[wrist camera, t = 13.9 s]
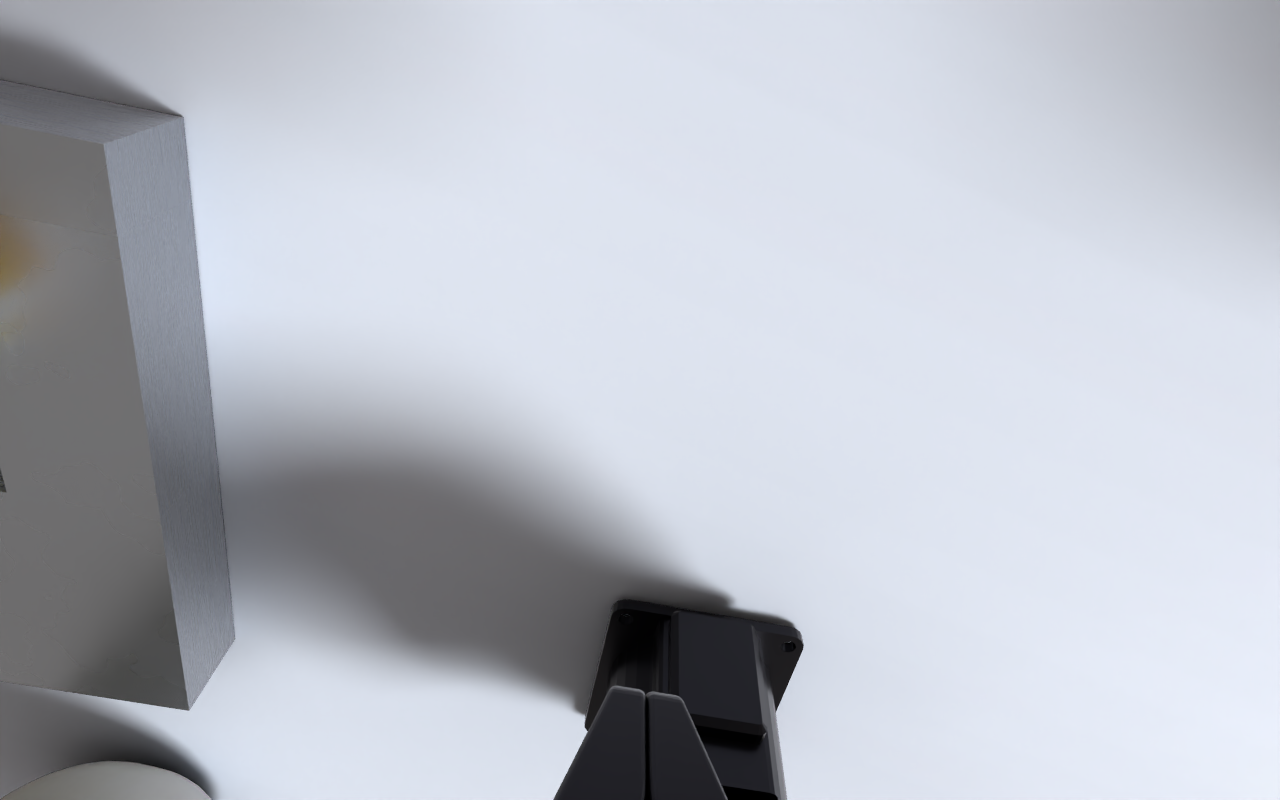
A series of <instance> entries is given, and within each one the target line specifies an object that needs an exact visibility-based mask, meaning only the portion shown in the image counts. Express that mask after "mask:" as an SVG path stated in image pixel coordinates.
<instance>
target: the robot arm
mask: <svg viewBox="0 0 1280 800" xmlns="http://www.w3.org/2000/svg"><path fill="white" fill-rule="evenodd" d="M622 614H629V615H630V616H624V615H622ZM789 641H791V642H790V643H784V642H789ZM802 650H803V640H802V635H801V633H800V632H799V631H798V630H797V629H795V628H792V627H787V626H781V625H775V624H769V623H763V622H757V621H752V620H746V619H740V618H734V617H728V616H722V615H716V614H711V613H705V612H699V611H693V610H687V609H681V608H676V607H670V606H664V605H658V604H652V603H646V602H641V601H635V600H626V599H623V600H620V601H617V602H616V603H614V605H613V606H612V609H611V613H610V617H609V621H608V625H607V629H606V633H605V638H604V642H603V646H602V650H601V654H600V658H599V662H598V666H597V670H596V675H595V679H594V683H593V687H592V691H591V695H590V699H589V703H588V707H587V712H586V717H585V728H586V730H587V731H588V732H587V734H586V736H585V738H584V740H583V742H582V744H581V746H580V748H579V750H578V752H577V754H576V756H575V758H574V760H573V762H572V764H571V766H570V768H569V770H568V772H567V774H566V776H565V778H564V780H563V782H562V784H561V786H560V788H559V790H558V792H557V793H556V795H555V797H554V799H553V800H787V795H786V787H785V780H784V772H783V765H782V757H781V749H780V742H779V734H778V727H777V719H776V711H777V708H778V706H779V704H780V701H781V699H782V697H783V694H784V692H785V690H786V687H787V685H788V683H789V680H790V678H791V676H792V673H793V671H794V669H795V667H796V664H797V662H798V660H799V657H800V655H801V653H802Z"/></svg>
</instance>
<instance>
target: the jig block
mask: <svg viewBox="0 0 1280 800" xmlns="http://www.w3.org/2000/svg"><path fill="white" fill-rule="evenodd" d="M234 640H235V635H234V624H233V614H232V604H231V594H230V584H229V574H228V564H227V554H226V544H225V533H224V523H223V513H222V503H221V493H220V483H219V473H218V463H217V453H216V443H215V432H214V422H213V412H212V402H211V392H210V382H209V372H208V362H207V352H206V342H205V331H204V321H203V311H202V301H201V291H200V281H199V271H198V261H197V251H196V240H195V230H194V220H193V210H192V200H191V190H190V180H189V170H188V160H187V150H186V139H185V129H184V119H183V117H181V116H176V115H171V114H166V113H161V112H156V111H151V110H146V109H141V108H136V107H132V106H127V105H122V104H117V103H112V102H107V101H102V100H97V99H92V98H87V97H82V96H78V95H73V94H68V93H63V92H58V91H53V90H48V89H43V88H38V87H33V86H29V85H24V84H19V83H14V82H9V81H4V80H0V681H2V682H8V683H15V684H21V685H28V686H34V687H41V688H47V689H53V690H60V691H66V692H73V693H79V694H85V695H92V696H98V697H105V698H111V699H117V700H124V701H130V702H137V703H143V704H149V705H156V706H162V707H169V708H175V709H181V710H188V711H189V710H190V709H191V707H192V706H193V704H194V703H195V701H196V699H197V698H198V696H199V695H200V693H201V692H202V690H203V688H204V687H205V685H206V684H207V682H208V681H209V679H210V677H211V676H212V674H213V673H214V671H215V670H216V668H217V666H218V665H219V663H220V662H221V660H222V659H223V657H224V655H225V654H226V652H227V651H228V649H229V648H230V646H231V644H232V643H233V641H234Z"/></svg>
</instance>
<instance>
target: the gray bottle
mask: <svg viewBox="0 0 1280 800" xmlns="http://www.w3.org/2000/svg"><path fill="white" fill-rule="evenodd" d="M0 800H212V799H211V798H210V797H209V796H208V795H207V794H206V793H205V792H204V791H203V790H202V789H201V788H200V787H199V786H198V785H196V784H195V783H193V782H192V781H190V780H189V779H187V778H185V777H183V776H181V775H179V774H177V773H175V772H172V771H169V770H165V769H162V768H158V767H154V766H150V765H145V764H141V763H135V762H123V761H99V762H92V763H87V764H81V765H76V766H72V767H69V768H65V769H62V770H59V771H56V772H53V773H50V774H48V775H45V776H43V777H40V778H38V779H36V780H34V781H32V782H30V783H28V784H26V785H24V786H22V787H20V788H18V789H16V790H15V791H13V792H11V793H9V794H8V795H6V796H4V797H3V798H1V799H0Z"/></svg>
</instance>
